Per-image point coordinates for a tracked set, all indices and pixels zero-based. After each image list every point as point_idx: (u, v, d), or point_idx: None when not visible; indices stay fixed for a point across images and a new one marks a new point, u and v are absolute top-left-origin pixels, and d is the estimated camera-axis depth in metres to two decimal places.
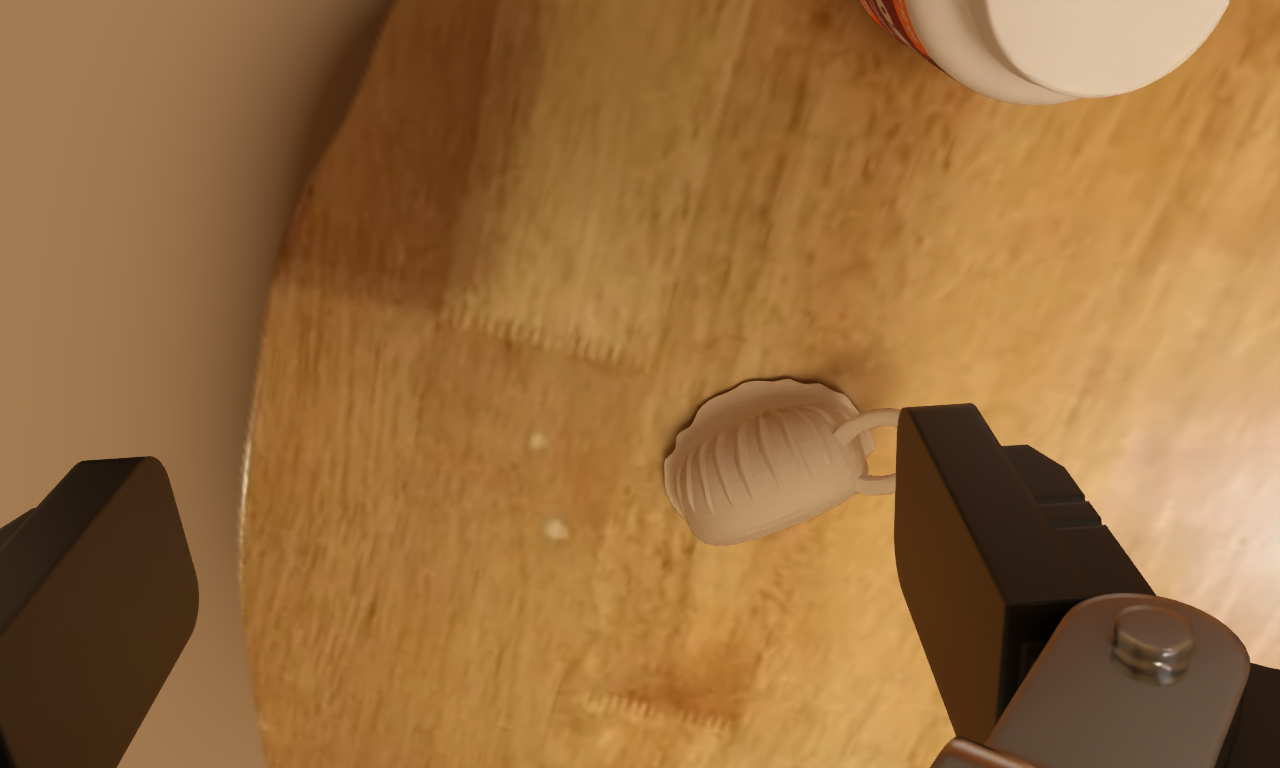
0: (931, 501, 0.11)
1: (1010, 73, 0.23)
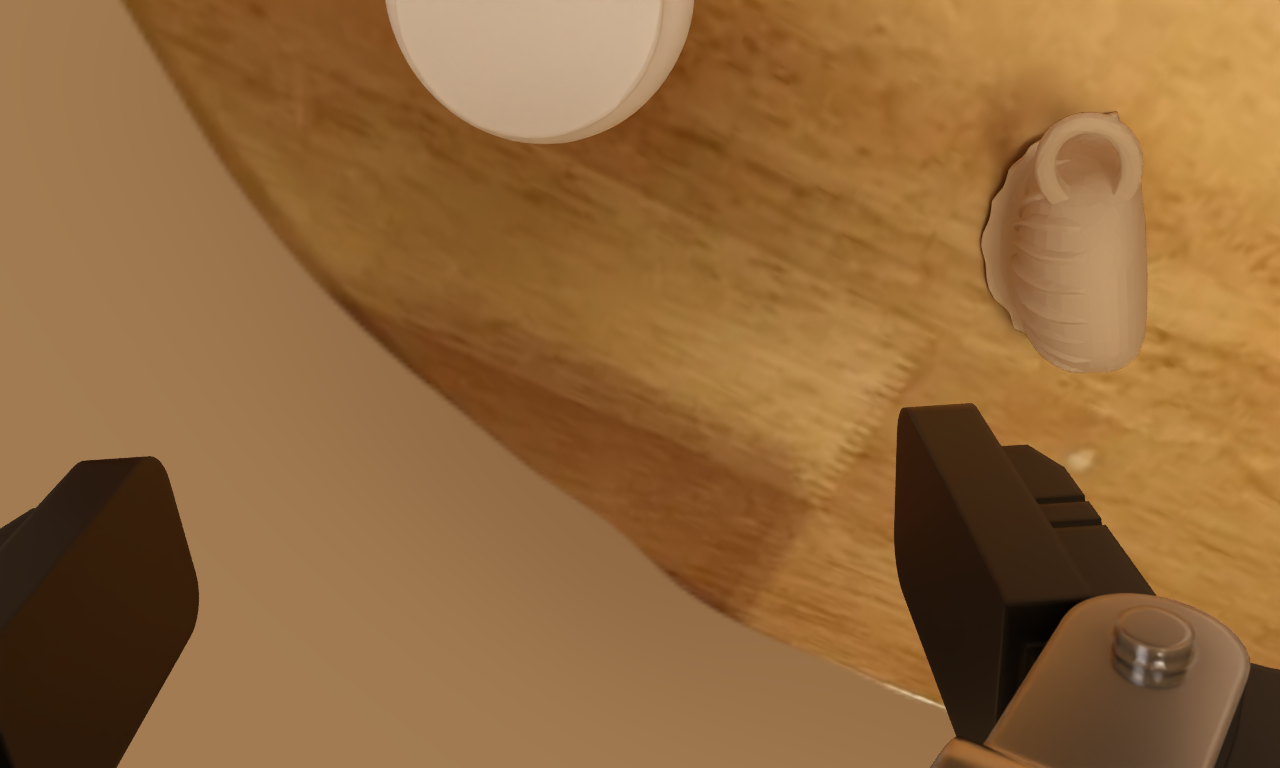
0: (930, 501, 0.11)
1: None
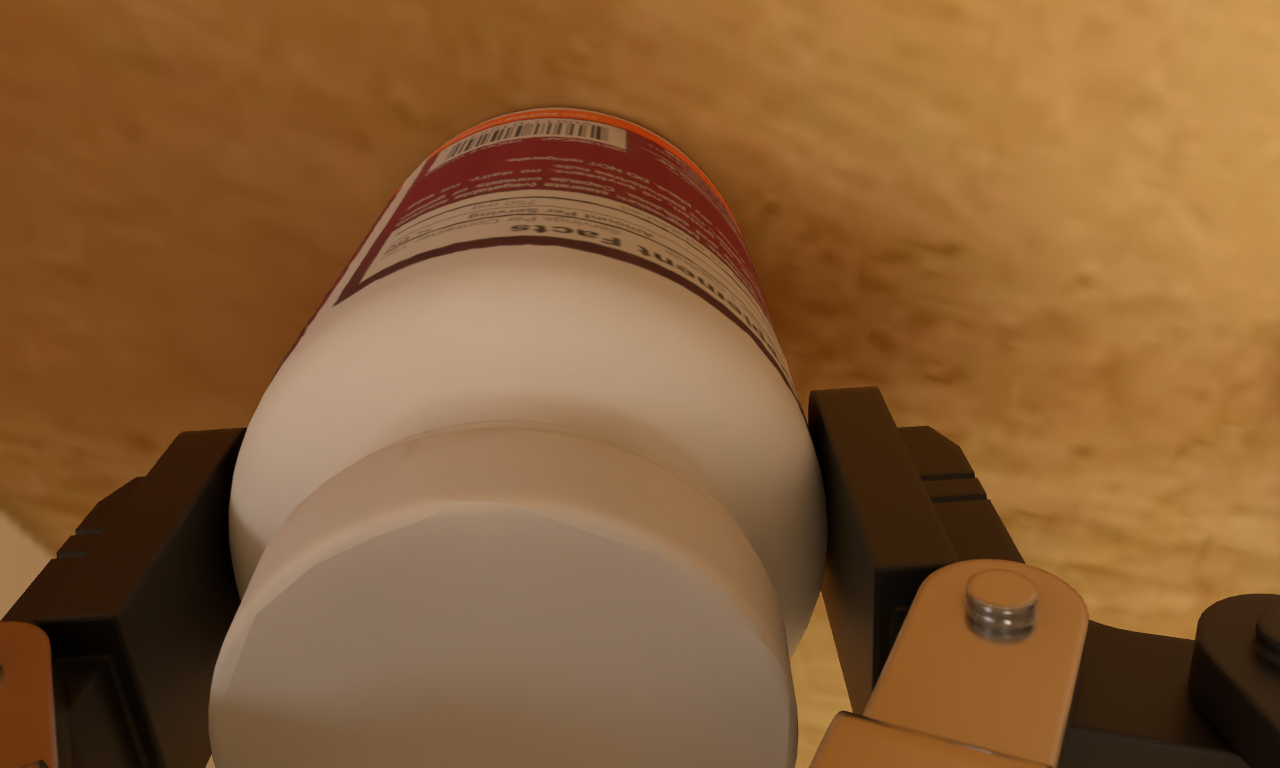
0: (829, 478, 0.11)
1: None
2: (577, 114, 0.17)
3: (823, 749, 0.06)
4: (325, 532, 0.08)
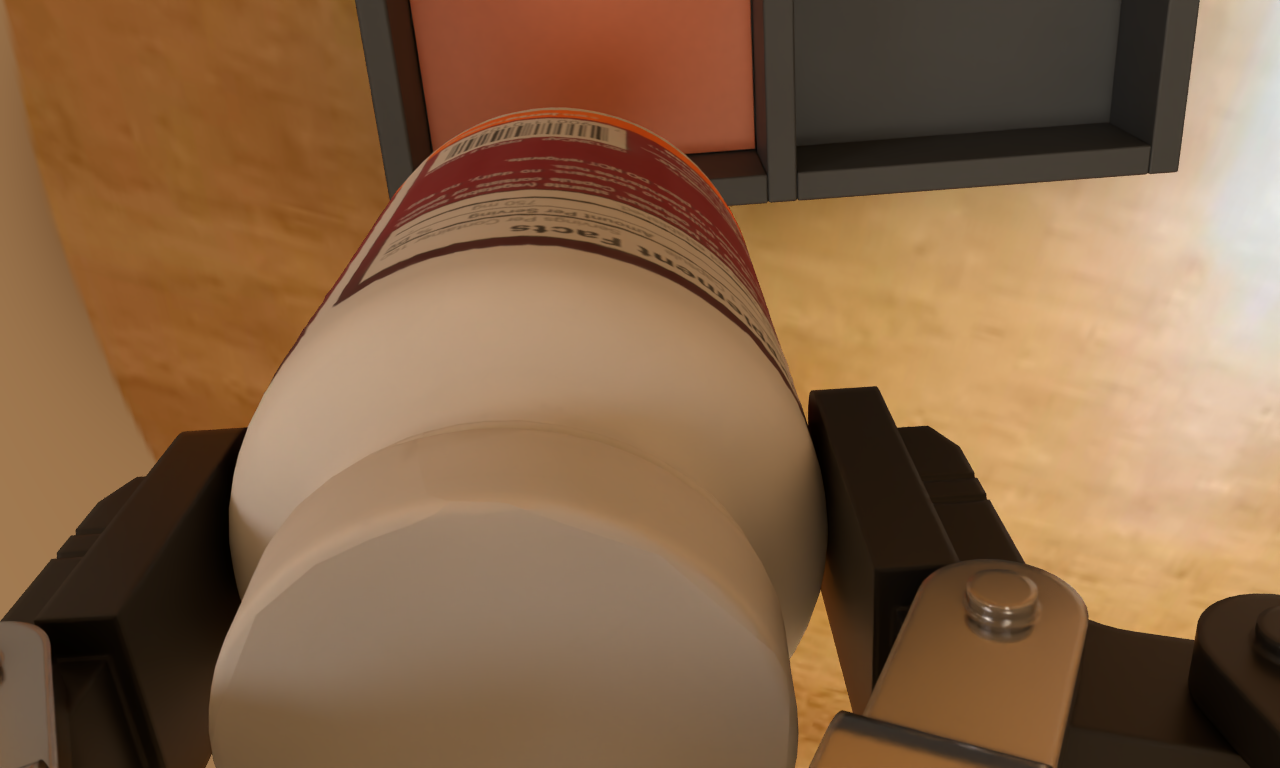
0: (830, 479, 0.11)
1: None
2: (577, 114, 0.17)
3: (823, 749, 0.06)
4: (324, 532, 0.08)
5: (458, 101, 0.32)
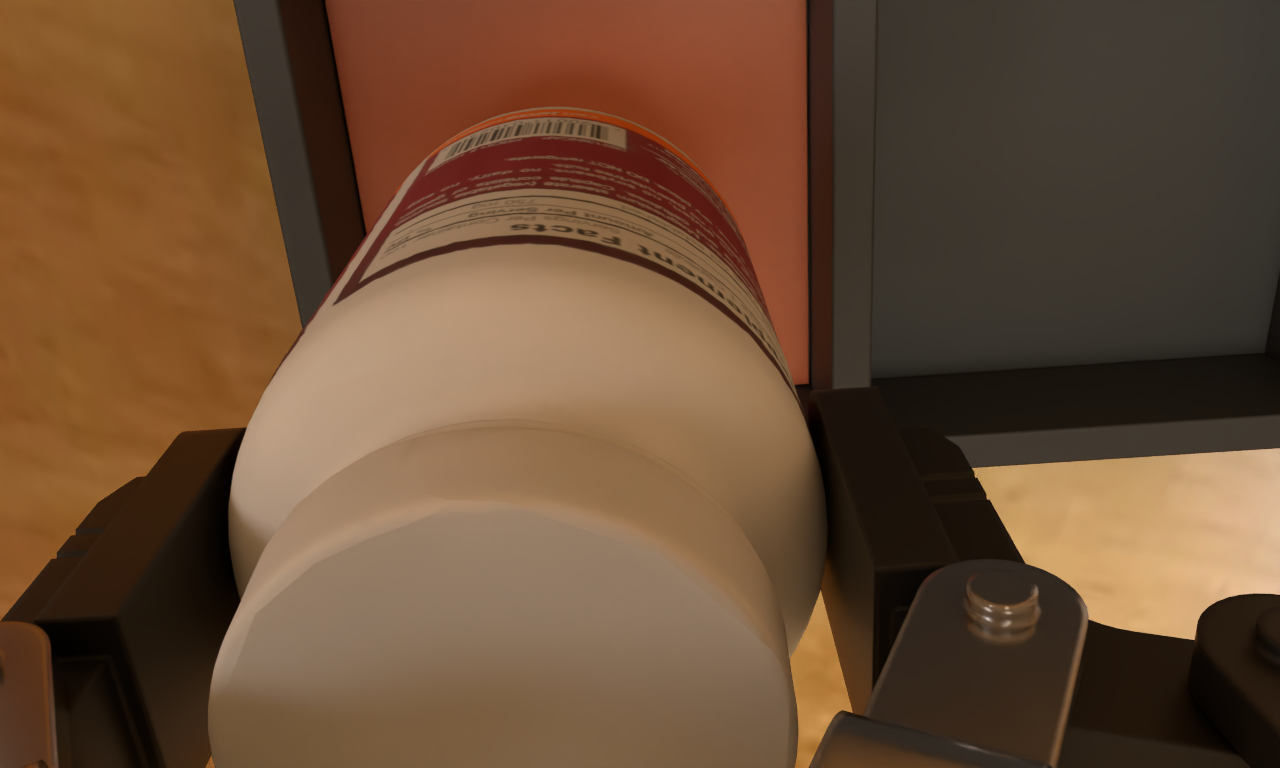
0: (828, 477, 0.11)
1: None
2: (577, 113, 0.16)
3: (822, 749, 0.06)
4: (323, 530, 0.08)
5: None
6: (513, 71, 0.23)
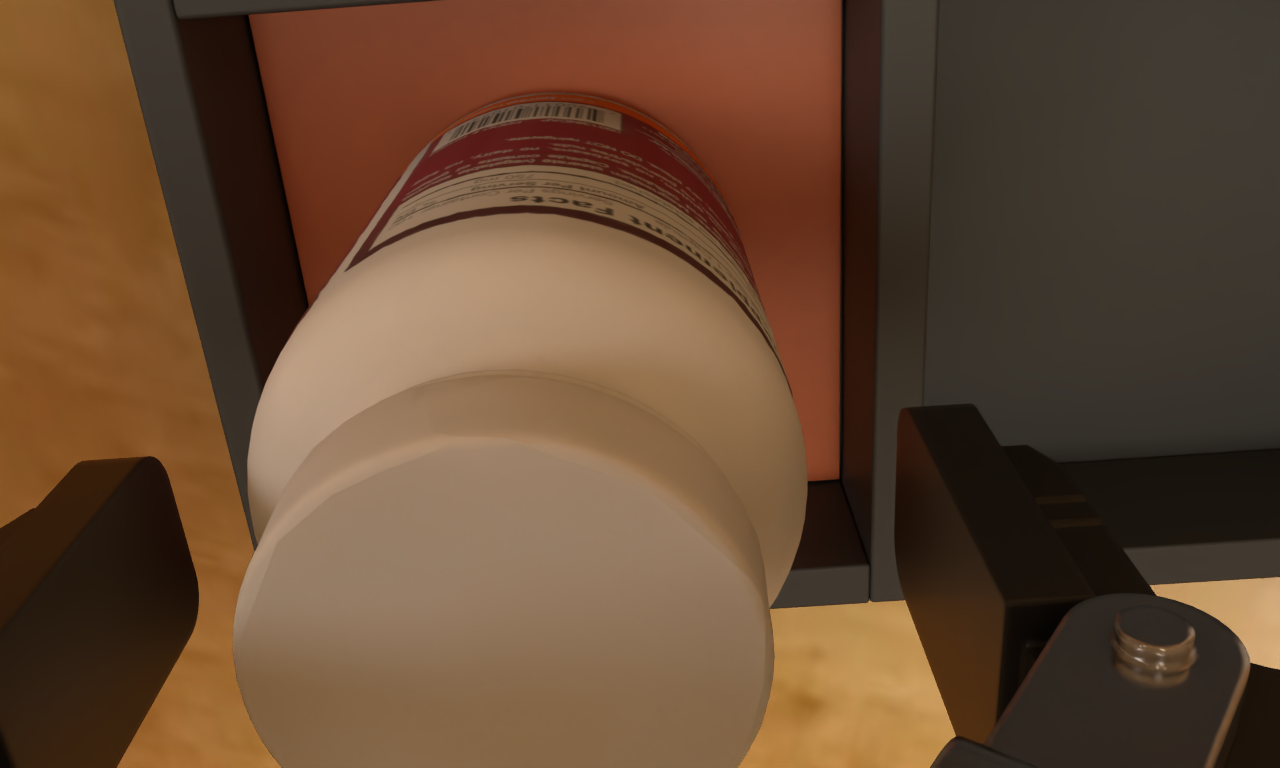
0: (930, 501, 0.11)
1: None
2: (575, 98, 0.17)
3: None
4: (339, 465, 0.09)
5: None
6: None
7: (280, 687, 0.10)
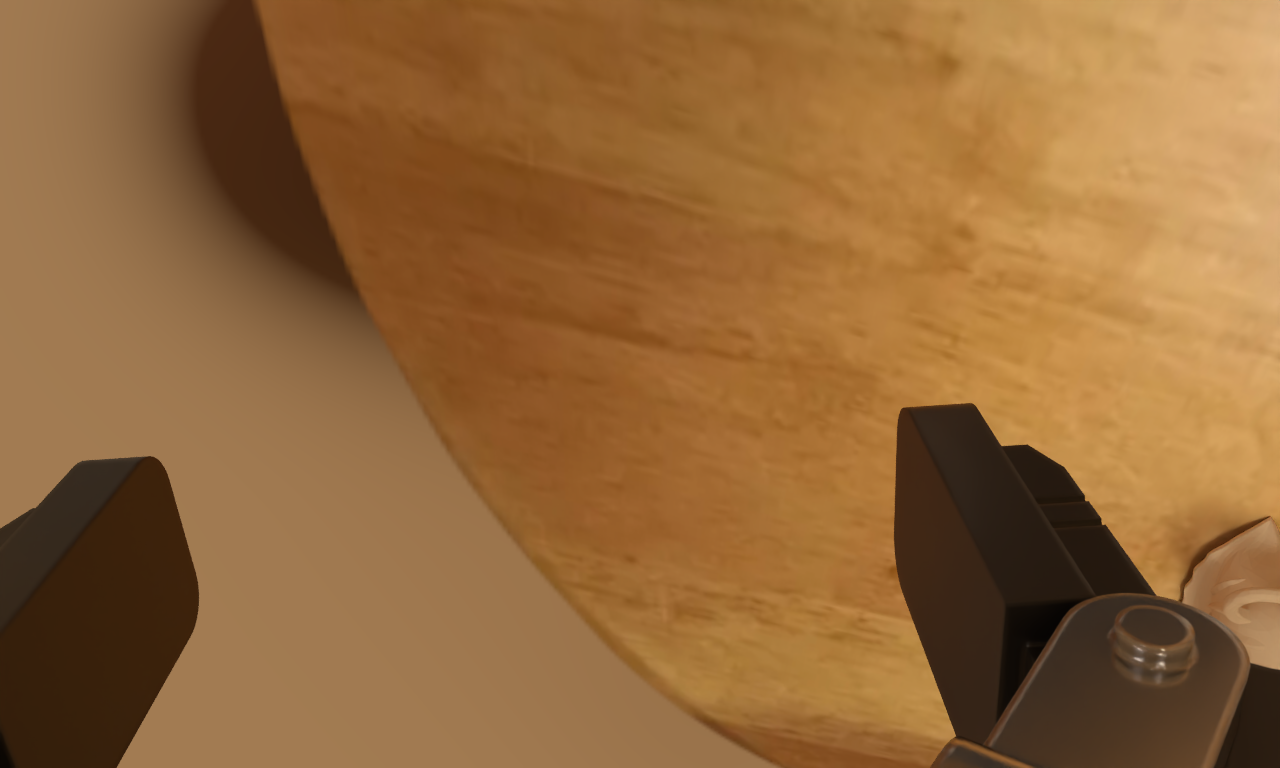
0: (930, 500, 0.11)
1: None
2: None
3: None
4: None
5: None
6: None
7: None
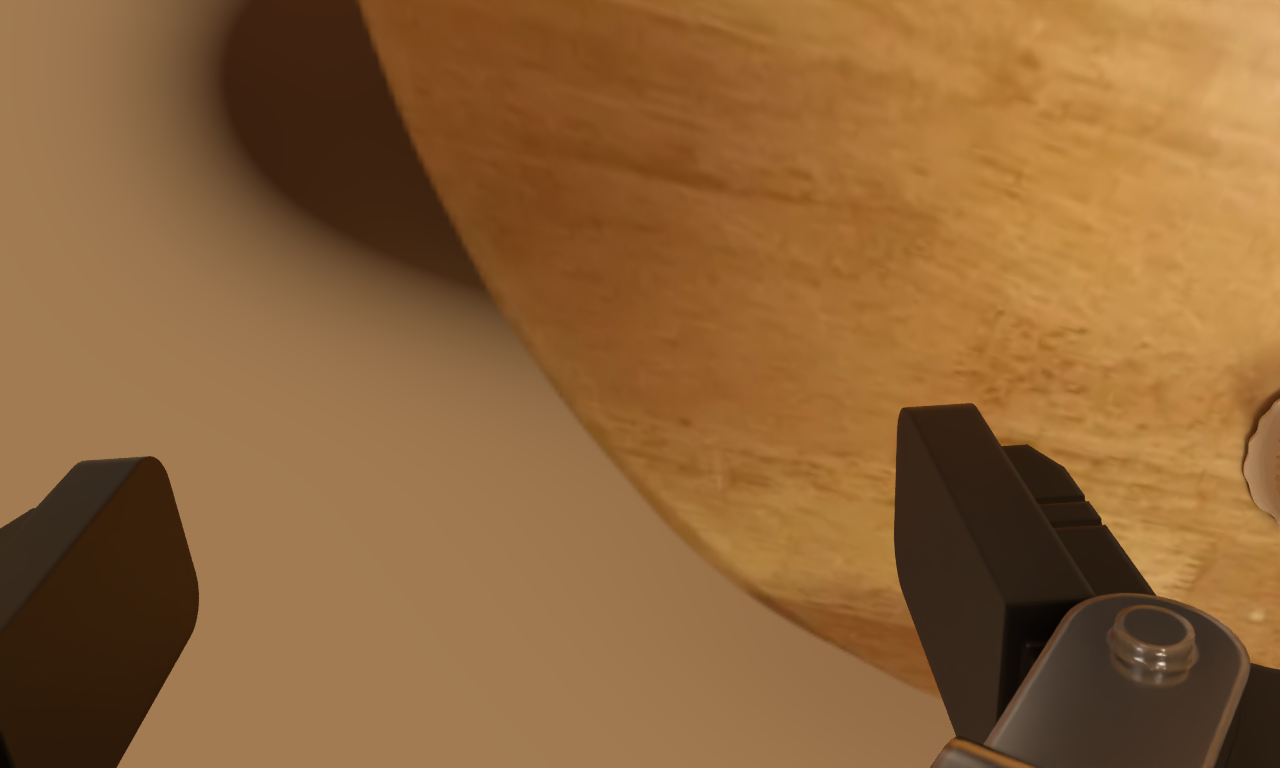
0: (930, 501, 0.11)
1: None
2: None
3: None
4: None
5: None
6: None
7: None
